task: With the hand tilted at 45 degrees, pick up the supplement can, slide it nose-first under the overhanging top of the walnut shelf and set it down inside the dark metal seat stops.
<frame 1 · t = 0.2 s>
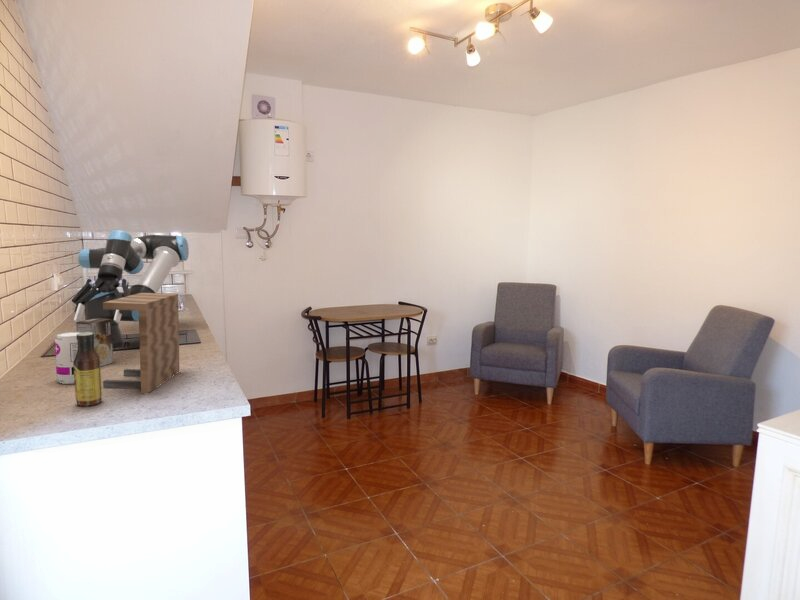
hand: (96, 321, 174), 15 cm above the countertop, tool tilted 35°, fingers open, 13 cm apart
coffee box: (96, 365, 176), on the countertop
supplement can: (72, 381, 157), on the countertop
overhang shelf: (132, 381, 159), on the countertop
sauce bottle: (89, 404, 138), on the countertop
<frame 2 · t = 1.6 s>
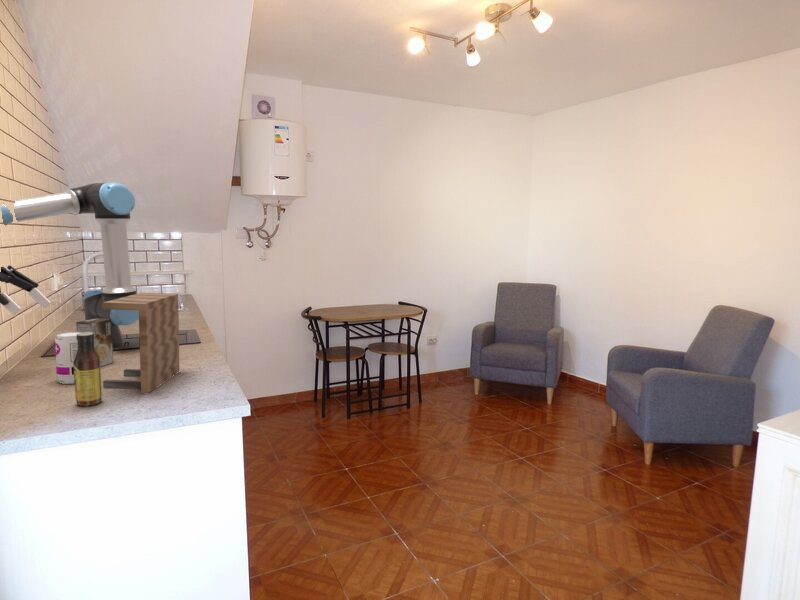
hand: (33, 308, 153), 23 cm above the countertop, tool tilted 45°, fingers open, 13 cm apart
nothing on the countertop moved.
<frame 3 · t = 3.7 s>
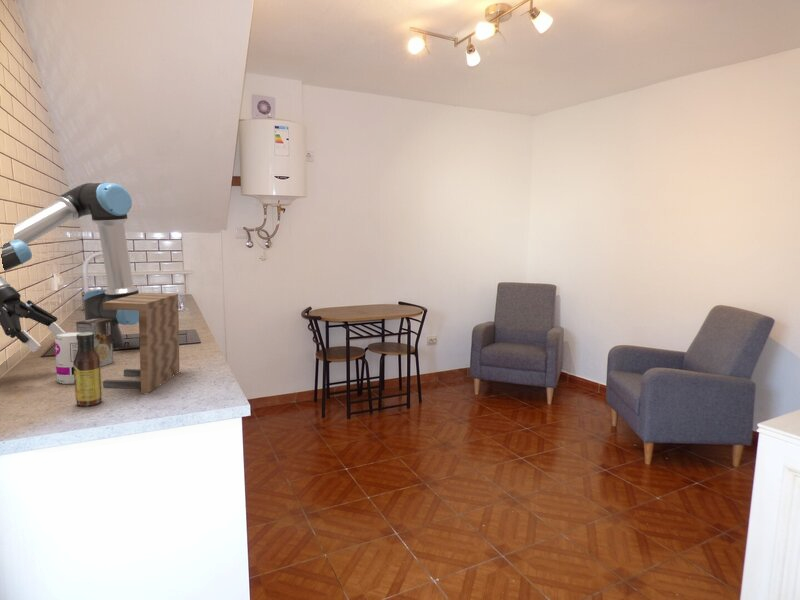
hand: (52, 344, 154), 12 cm above the countertop, tool tilted 45°, fingers open, 13 cm apart
nothing on the countertop moved.
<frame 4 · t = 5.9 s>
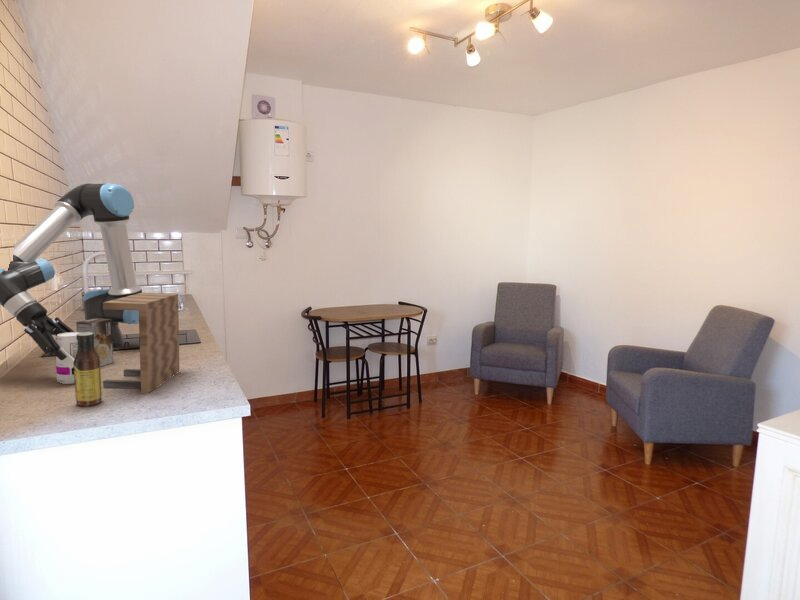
hand: (82, 362, 157), 6 cm above the countertop, tool tilted 45°, fingers closed on supplement can, 8 cm apart
supplement can: (72, 381, 157), on the countertop, touching gripper
everything else where it was.
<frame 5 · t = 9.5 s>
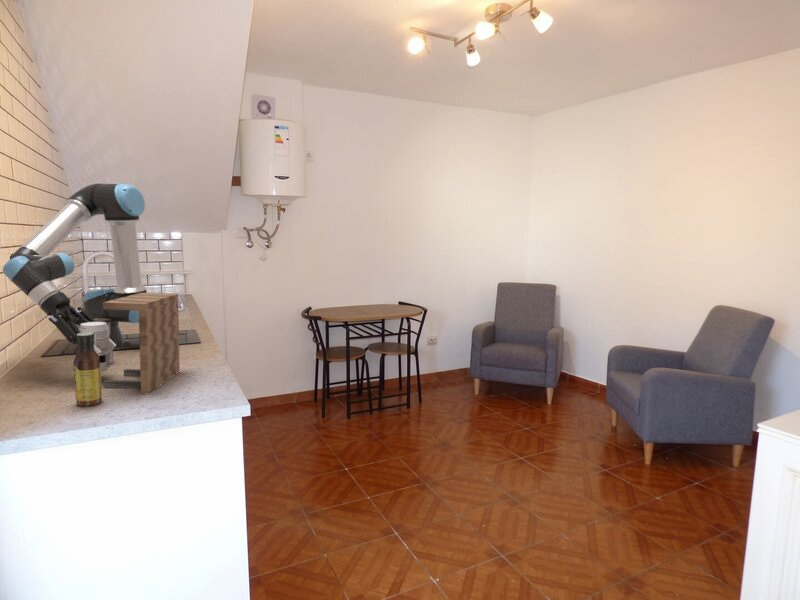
hand: (105, 351, 157), 10 cm above the countertop, tool tilted 45°, fingers closed on supplement can, 8 cm apart
supplement can: (95, 370, 158), point 3 cm above the countertop, touching gripper
everything else where it was.
when the fingers open (8 cm above the countertop, at t = 13.0 s): supplement can drops 1 cm, on the countertop.
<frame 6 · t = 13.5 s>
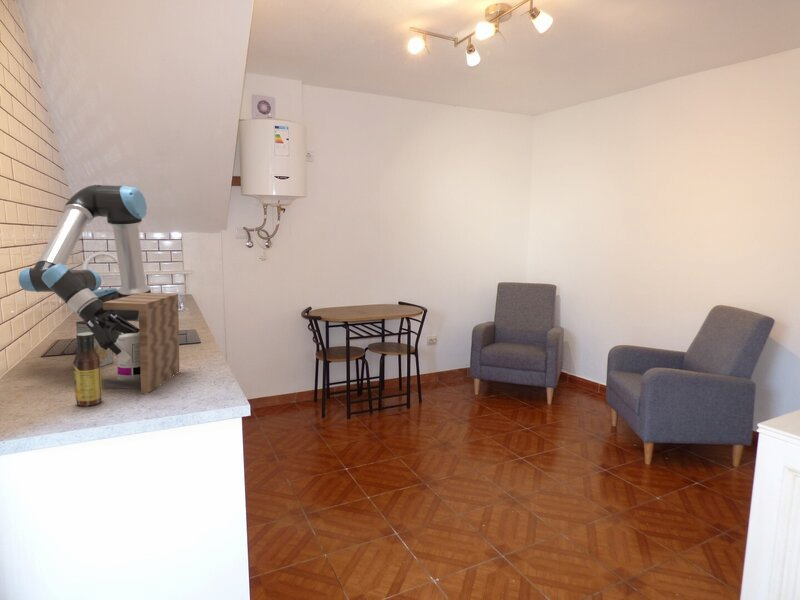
hand: (139, 355, 158), 9 cm above the countertop, tool tilted 45°, fingers open, 13 cm apart
supplement can: (132, 381, 159), on the countertop
everything else where it was.
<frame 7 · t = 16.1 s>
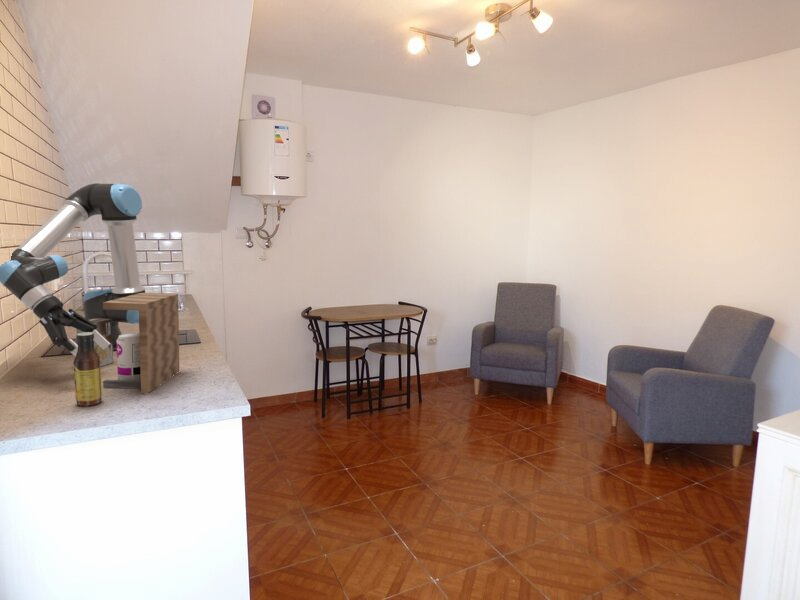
hand: (95, 351, 158), 9 cm above the countertop, tool tilted 45°, fingers open, 13 cm apart
nothing on the countertop moved.
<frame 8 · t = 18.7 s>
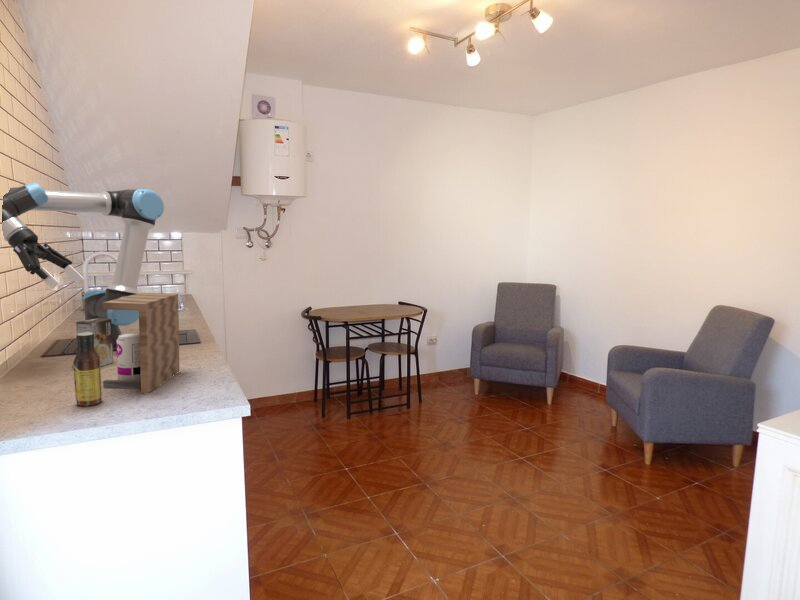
hand: (69, 283, 163), 30 cm above the countertop, tool tilted 45°, fingers open, 13 cm apart
nothing on the countertop moved.
at the end: supplement can 0.1 cm off-centre on the overhang shelf, point 0.0 cm above the overhang shelf's base; supplement can tilted 0°; the gripper is holding nothing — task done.
